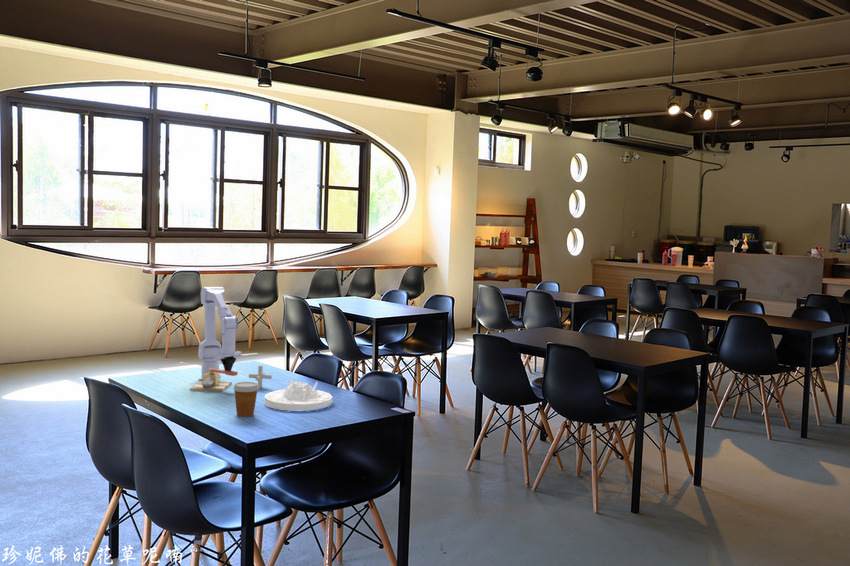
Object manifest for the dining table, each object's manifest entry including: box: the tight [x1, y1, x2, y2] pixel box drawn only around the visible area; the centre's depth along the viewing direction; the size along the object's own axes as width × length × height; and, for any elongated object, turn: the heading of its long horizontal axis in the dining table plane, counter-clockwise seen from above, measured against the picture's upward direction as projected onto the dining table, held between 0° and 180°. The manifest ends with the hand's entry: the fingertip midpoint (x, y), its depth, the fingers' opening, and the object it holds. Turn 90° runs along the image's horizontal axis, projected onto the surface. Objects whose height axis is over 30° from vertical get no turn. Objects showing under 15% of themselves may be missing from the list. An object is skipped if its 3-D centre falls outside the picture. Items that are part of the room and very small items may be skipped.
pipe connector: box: [248, 364, 273, 389], centre depth 321 cm, size 10×10×10 cm
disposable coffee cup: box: [232, 381, 260, 418], centre depth 273 cm, size 10×10×12 cm
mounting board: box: [189, 380, 232, 393], centre depth 317 cm, size 16×14×1 cm
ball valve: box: [202, 371, 221, 388], centre depth 317 cm, size 16×6×7 cm, turn 1°
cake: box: [263, 378, 334, 411], centre depth 295 cm, size 28×28×10 cm
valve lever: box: [209, 368, 238, 377], centre depth 314 cm, size 15×3×1 cm, turn 62°
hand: (227, 373), depth 315 cm, fingers closed
